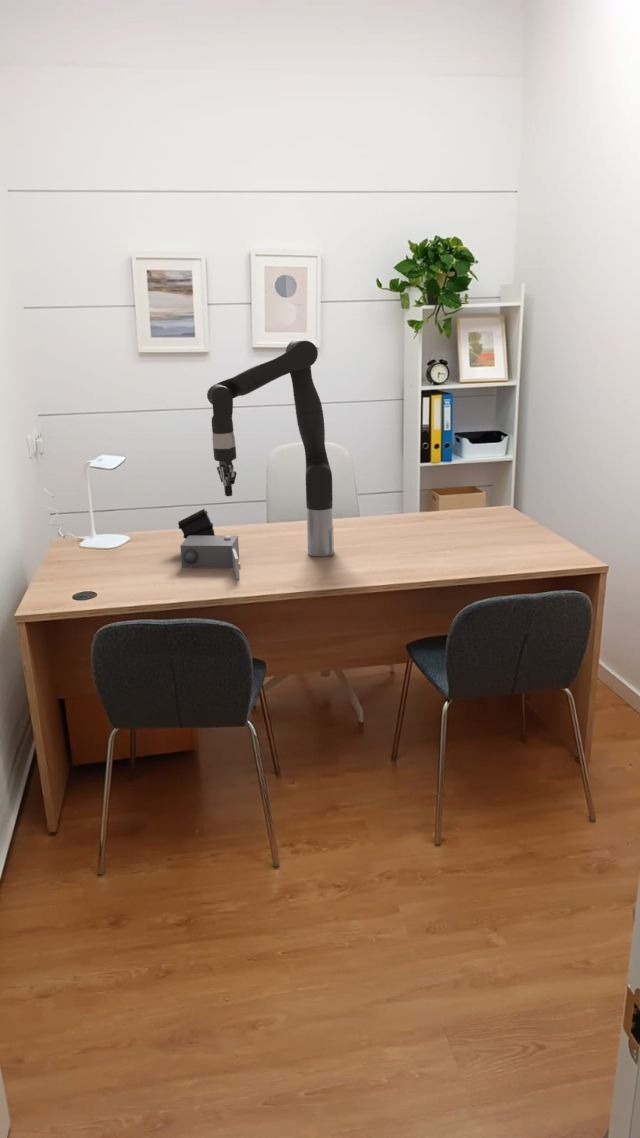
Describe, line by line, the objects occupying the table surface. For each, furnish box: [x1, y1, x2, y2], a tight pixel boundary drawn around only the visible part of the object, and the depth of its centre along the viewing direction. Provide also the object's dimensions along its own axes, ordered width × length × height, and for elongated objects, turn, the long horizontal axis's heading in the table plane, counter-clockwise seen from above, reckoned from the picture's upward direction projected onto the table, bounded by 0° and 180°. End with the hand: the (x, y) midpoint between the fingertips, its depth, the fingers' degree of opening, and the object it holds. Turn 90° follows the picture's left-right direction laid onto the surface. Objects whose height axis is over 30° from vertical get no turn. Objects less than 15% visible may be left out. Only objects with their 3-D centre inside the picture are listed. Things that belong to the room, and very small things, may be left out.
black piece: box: [177, 508, 216, 540], centre depth 316 cm, size 4×13×15 cm, turn 93°
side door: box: [232, 548, 241, 580], centre depth 289 cm, size 12×2×7 cm, turn 11°
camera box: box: [180, 535, 240, 569], centre depth 301 cm, size 18×14×9 cm
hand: (228, 495), depth 292 cm, fingers closed
